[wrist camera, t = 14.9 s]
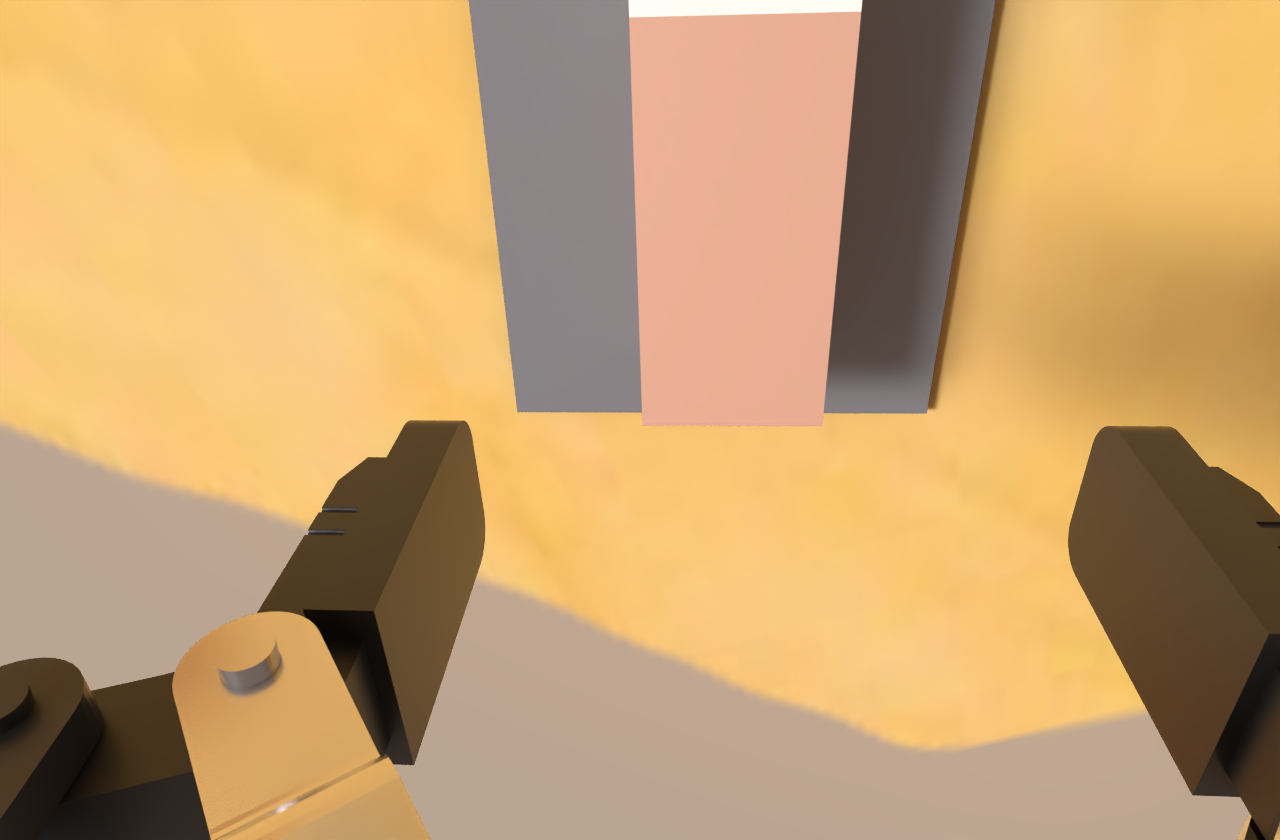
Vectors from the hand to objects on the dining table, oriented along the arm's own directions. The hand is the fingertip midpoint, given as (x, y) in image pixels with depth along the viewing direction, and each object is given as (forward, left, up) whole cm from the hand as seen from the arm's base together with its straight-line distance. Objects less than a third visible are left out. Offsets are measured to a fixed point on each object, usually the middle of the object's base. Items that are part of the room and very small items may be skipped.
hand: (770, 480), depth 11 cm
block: (0, +6, -14) cm, 15 cm away
